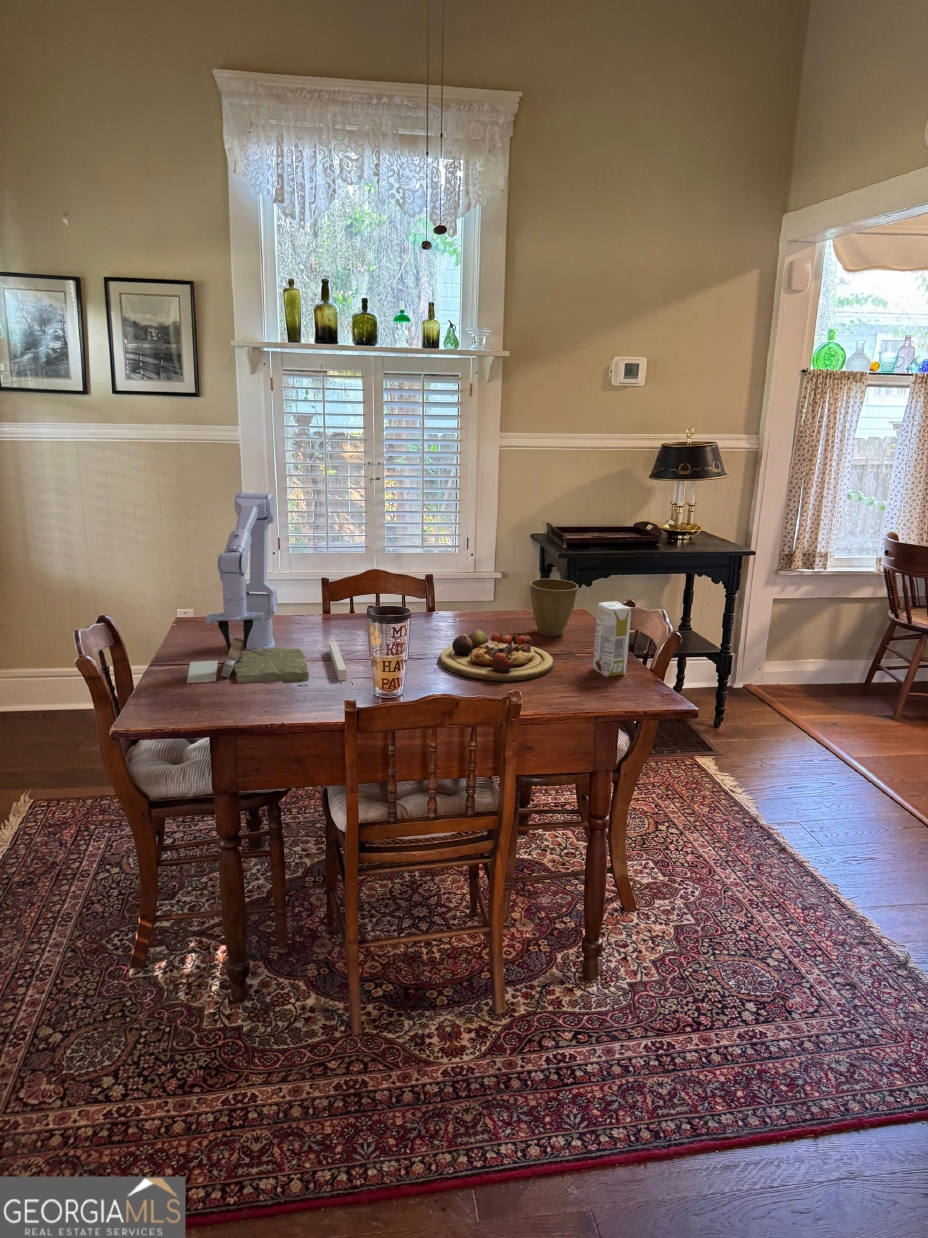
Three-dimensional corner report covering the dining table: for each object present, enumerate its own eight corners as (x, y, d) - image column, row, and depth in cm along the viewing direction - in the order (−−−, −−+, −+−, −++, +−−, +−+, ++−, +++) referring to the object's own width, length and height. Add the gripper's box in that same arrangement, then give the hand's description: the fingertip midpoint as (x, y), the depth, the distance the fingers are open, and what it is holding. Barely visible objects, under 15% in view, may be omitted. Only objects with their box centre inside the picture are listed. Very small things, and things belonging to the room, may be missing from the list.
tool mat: (190, 663, 219) (190, 662, 219) (217, 662, 221) (217, 660, 220) (186, 684, 204) (186, 682, 204) (215, 682, 206) (215, 680, 206)
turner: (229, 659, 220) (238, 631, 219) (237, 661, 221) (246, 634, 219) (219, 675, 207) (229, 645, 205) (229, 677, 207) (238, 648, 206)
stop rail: (329, 651, 232) (329, 641, 231) (336, 651, 232) (336, 641, 232) (338, 680, 210) (338, 669, 209) (346, 680, 210) (346, 669, 209)
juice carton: (605, 678, 217) (610, 610, 212) (588, 668, 225) (593, 601, 220) (629, 675, 220) (635, 607, 215) (612, 665, 228) (617, 600, 222)
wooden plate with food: (547, 689, 209) (549, 658, 207) (427, 676, 215) (428, 646, 213) (558, 653, 240) (560, 626, 238) (452, 643, 246) (453, 616, 243)
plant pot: (522, 637, 251) (525, 586, 247) (533, 624, 265) (535, 576, 261) (570, 642, 247) (573, 591, 243) (578, 629, 261) (581, 581, 256)
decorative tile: (303, 657, 228) (302, 645, 227) (309, 682, 210) (309, 669, 209) (234, 661, 223) (233, 649, 222) (234, 687, 205) (233, 674, 204)
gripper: (204, 602, 204) (207, 654, 207) (263, 600, 207) (265, 651, 211) (205, 595, 210) (208, 645, 214) (263, 593, 214) (265, 643, 217)
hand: (237, 648), depth 213 cm, fingers closed on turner, 3 cm apart
